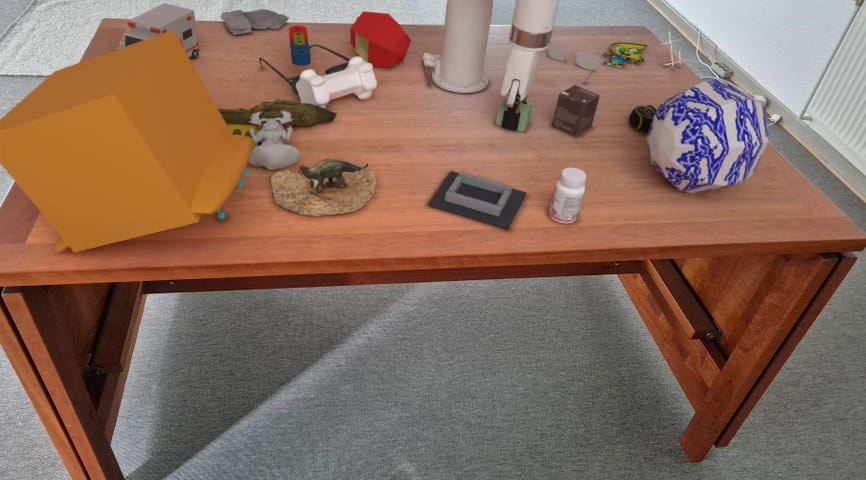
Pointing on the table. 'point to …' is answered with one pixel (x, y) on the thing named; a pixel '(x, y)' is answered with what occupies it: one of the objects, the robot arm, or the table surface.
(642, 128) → the tape measure
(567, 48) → the eyeglasses
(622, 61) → the toy
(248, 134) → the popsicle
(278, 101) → the circuit board
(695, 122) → the ornament
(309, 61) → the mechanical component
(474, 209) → the base
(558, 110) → the box
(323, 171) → the dinosaur figurine
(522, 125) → the green rectangular block
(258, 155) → the figurine
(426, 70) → the pen
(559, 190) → the pill bottle
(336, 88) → the dog bone
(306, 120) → the olive long flat piece
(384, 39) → the red angular block
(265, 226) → the table surface
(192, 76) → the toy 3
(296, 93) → the sunglasses
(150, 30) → the toy vehicle
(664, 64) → the airplane model
